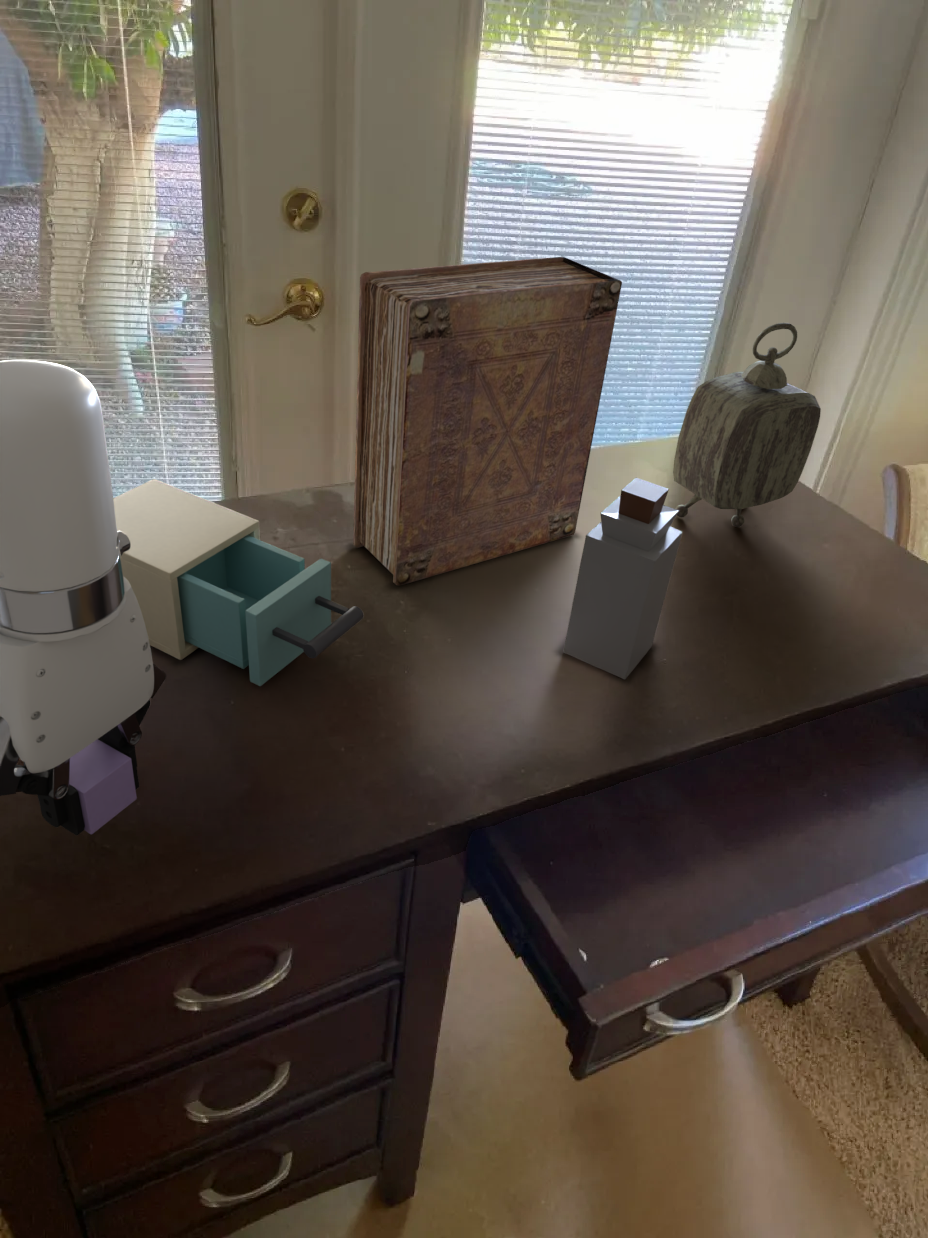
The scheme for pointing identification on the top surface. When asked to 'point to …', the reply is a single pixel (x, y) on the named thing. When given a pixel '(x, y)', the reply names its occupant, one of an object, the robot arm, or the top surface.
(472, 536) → the book
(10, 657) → the robot arm
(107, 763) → the lavender cube
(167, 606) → the drawer cabinet
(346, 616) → the teal drawer
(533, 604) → the top surface
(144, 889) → the top surface
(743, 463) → the tabletop clock
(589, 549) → the perfume bottle
